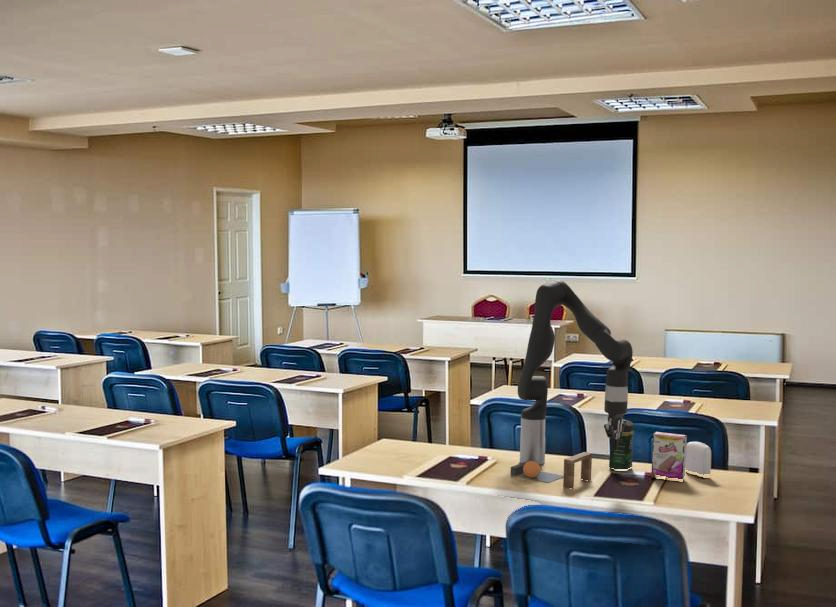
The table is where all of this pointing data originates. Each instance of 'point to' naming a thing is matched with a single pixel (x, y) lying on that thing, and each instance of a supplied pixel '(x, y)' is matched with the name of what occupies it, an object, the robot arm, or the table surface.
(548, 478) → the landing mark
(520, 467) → the stopper bar
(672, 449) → the candy bar box
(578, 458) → the bridge
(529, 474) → the ball
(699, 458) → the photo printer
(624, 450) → the coffee jar
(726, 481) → the table surface
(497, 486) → the table surface
